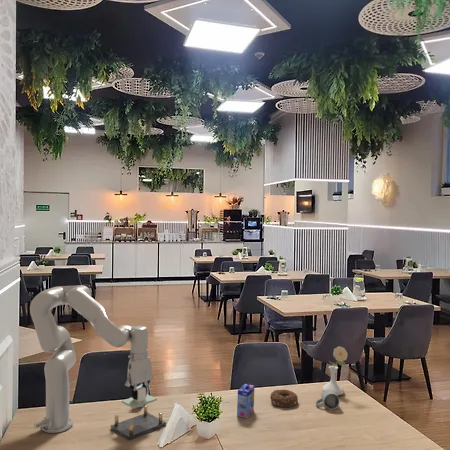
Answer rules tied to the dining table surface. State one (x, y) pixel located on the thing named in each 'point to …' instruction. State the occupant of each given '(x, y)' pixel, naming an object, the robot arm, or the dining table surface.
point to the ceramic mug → (328, 400)
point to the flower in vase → (333, 385)
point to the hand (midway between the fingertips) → (139, 396)
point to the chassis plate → (138, 425)
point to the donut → (284, 398)
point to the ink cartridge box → (245, 400)
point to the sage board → (136, 404)
